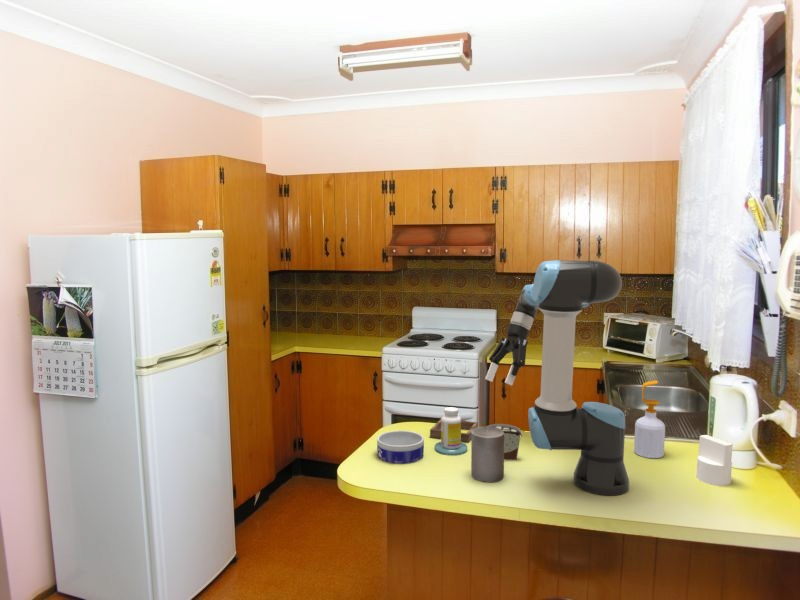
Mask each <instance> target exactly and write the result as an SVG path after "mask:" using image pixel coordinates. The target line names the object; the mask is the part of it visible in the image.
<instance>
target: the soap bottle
mask: <svg viewBox="0 0 800 600" xmlns="http://www.w3.org/2000/svg"><path fill="white" fill-rule="evenodd" d="M655 385H656V386H657V385H659V382H658V380H657V379H656V380H655V379H654V380H650V381H645V382H643V384H642V386H641V400H642V402H643V403H644V404H646V406H647V407H648V408H645V412H644V413H645V414H644V416H641V417H640V418H637V419H636V421H635V424H634V440H633V441H634V442H633V451H634V453H635V454H636V455H638V456H640V457H643V458H646V459H660V458H663V457H664V454H665V439H666V438H665V437H666V425H665V423H664V421H662V420H661V419H659V418H658V417H657V409H655V407H656V406H657V405H660V401H659V400H657V399H646V398H645V389H646V387H650V386H655Z"/></svg>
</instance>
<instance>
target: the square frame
mask: <svg viewBox="0 0 800 600" xmlns="http://www.w3.org/2000/svg"><path fill="white" fill-rule="evenodd" d="M477 427H479V422H477V421H469V420H468V421H467V420H461V430H464V431H465V430H466V431H467V432H461V442H462V443H464V444H469V443H470V441H471V432H472V430H473V429H474V428H477ZM429 438H430V439H436V440H441V418H440V419H439V420H438V421H437V422H436V423H435V424H434V425H433V426H432V427H431V428H430V430H429Z"/></svg>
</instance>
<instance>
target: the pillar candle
mask: <svg viewBox="0 0 800 600" xmlns="http://www.w3.org/2000/svg"><path fill="white" fill-rule="evenodd" d="M488 426H489V425H487V426H478V427H477V428H474V429H473V430H472V432H471V440H470V441H471V443H470V444H471V445H470V446H471V452H470V453H471V455H470V456H471V457H470V459H471V461H470V463H471V464H470V468H471V469H470V472H471V473H470V475H471V477H472V478H473V479H474V480H476V481H480V482H481V481H482V482H484V483H495V482H498V481H501V480H503V478H504V477H505V460H504V432H503V430H501V429H499V428H496V427H488Z"/></svg>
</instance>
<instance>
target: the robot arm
mask: <svg viewBox="0 0 800 600" xmlns="http://www.w3.org/2000/svg"><path fill="white" fill-rule="evenodd" d="M622 287H623V281H622V275H621V274H620V273H619V271H618V270H617V269H616V268H615V267H614V266H613V265H610V264H609V263H606V262H603V261H599V260H566V259H565V260H561V259H560V260H559V259H556V260H545V261H542V262H541V263H540V264H539V265H538V266H537V269H536V272H535V275H534V279H533V283H532V284H526V285H524V286H523V288H522V291H521V292H520V296H519V298H518V300H517V303H516V306H515V309H514V312H513V314H512V316H511V318H510V323H509V324H508V325H507V329H506V332H505V333H506V335H507V338H505V337H502V338H501V339H500V341H499V343H498V344H497V346H496V348H495V349H494V351H493V352H492V354H491V355H490V357H489V358H488V360H489V361H490V366H489V369H488V370H487V373H486V375H485V378H484V379H485V380H486V381H489V382H491V383H493V381H494V378H495V376H496V373H497V370H498V368H499V365H500V364H499V363H500V362H501V361H502V360H503V359H504V357H505V356H507V354H509V353H512V360H513V361H512V364H511V366H510V368H509V371H508V374H507V376H506V378H505V380H504V383H505V384H507V385H509V386H510V387H512V386H513V385H514V382H515V379H516V377H517V374H518V372H519V369H520V368H522V367H524V366H525V365H526V359H527V358H526V356H527V347H528V346H527V345H528V342H529V341H528V340H527V339H528V336H529V333H530V330H531V328H532V326H533V323H534V320H535V317H536V315H537V313H538V310H540V312H541V313H542V314H543V325H542V326H543V329H542V331H543V332H542V354H541V372H540V373H541V374H540V376H541V377H540V379H541V380H540V396H538V397H537V398H536V399H535V401H534V406H532V407H529V408H528V409H527V410H528V413H527V417H528V427H529V433H530V437H531V441H532V442H533V443H532V444H533V445H534V446H535V448H537V449H540V450H549V451H552V450H553V451H556V450H557V451H558V450H561V451H563V450H564V451H567V450H569V451H575V450H576V451H580V456H579V459H578V462H577V464H576V467H575V469H574V471H573V478H572V479H573V480H572V481H573V484H574V485H575V486H576V487H577V488H579V489H581V490H583V491H586V492H588V493H591V494H596V495H601V496H618V495H623V494H626V493H627V492H628V491H629V489H630V488H629V487H630V479H629V476H628V473H627V469H626V466H625V461H624V456H625V455H624V453H625V452H624V451H625V437H626V436H625V433H626V428H627V427H626V415H625V413H624V411H622V410H621V409H620V408H618V407H616V406H614V405H611V404H606V403H603V402H599V401H598V402H597V401H584V402H583V403H582V405H581V408H578V405H577V403H576V401H574V400H573V398H572V396H573V378H574V359H575V358H574V357H575V339H576V322H577V321H576V320H577V316H578V315H579V314H580V313H582V312H583V308H588V307H589V306H590V305H591V304H597V303H605V302H609V301H611V300H613V299H615V298H617V296H618V295H619V294H620V292H621V290H622Z"/></svg>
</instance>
